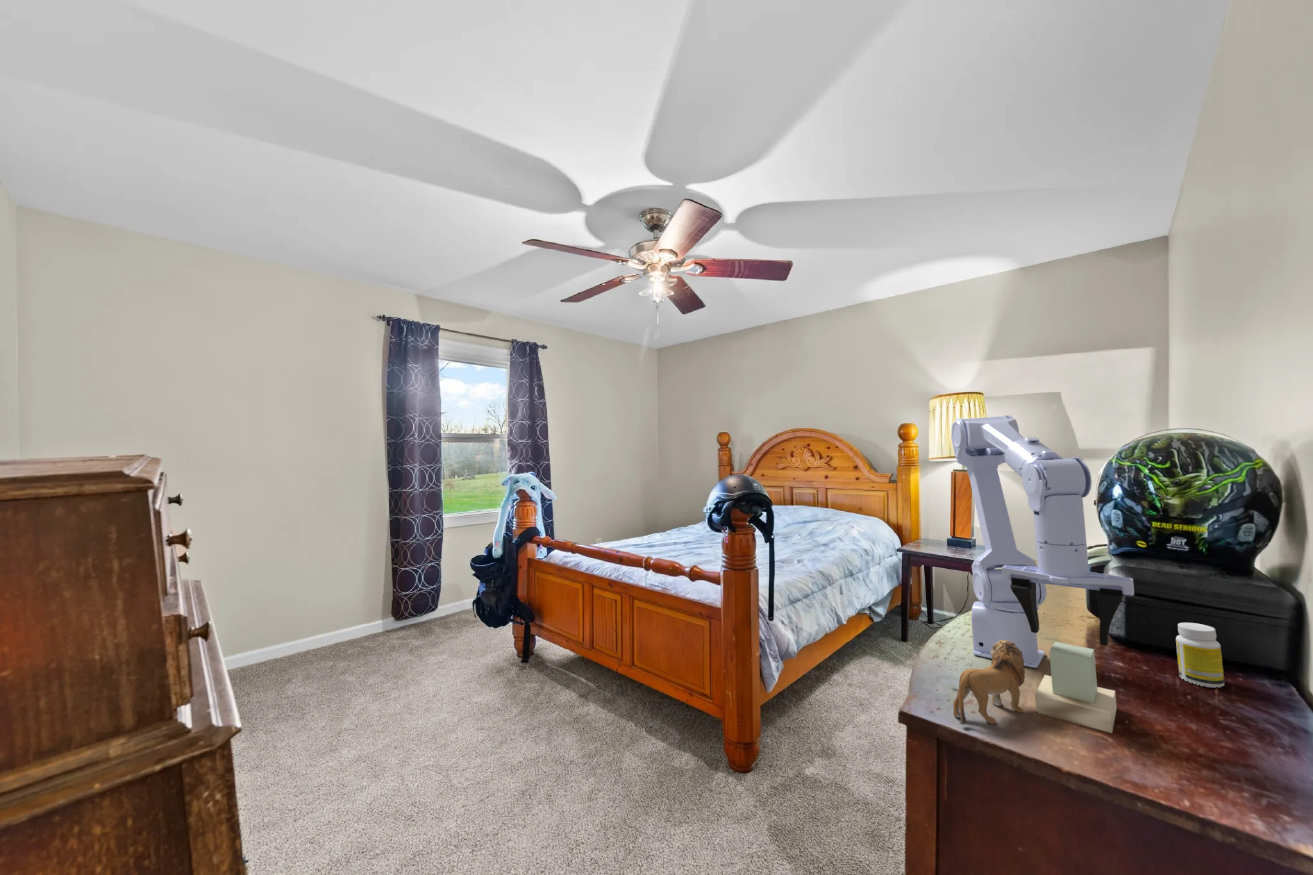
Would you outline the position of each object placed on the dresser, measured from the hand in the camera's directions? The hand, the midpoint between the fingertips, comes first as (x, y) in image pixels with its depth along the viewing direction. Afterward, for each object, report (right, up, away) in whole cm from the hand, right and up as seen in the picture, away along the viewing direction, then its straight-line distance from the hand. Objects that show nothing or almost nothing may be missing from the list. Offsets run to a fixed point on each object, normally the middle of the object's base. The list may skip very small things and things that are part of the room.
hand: (1068, 636), depth 71 cm
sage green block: (+1, -8, 0) cm, 8 cm away
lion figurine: (-11, -11, +1) cm, 16 cm away
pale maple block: (+1, -11, 0) cm, 11 cm away
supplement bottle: (+25, -9, +6) cm, 28 cm away
